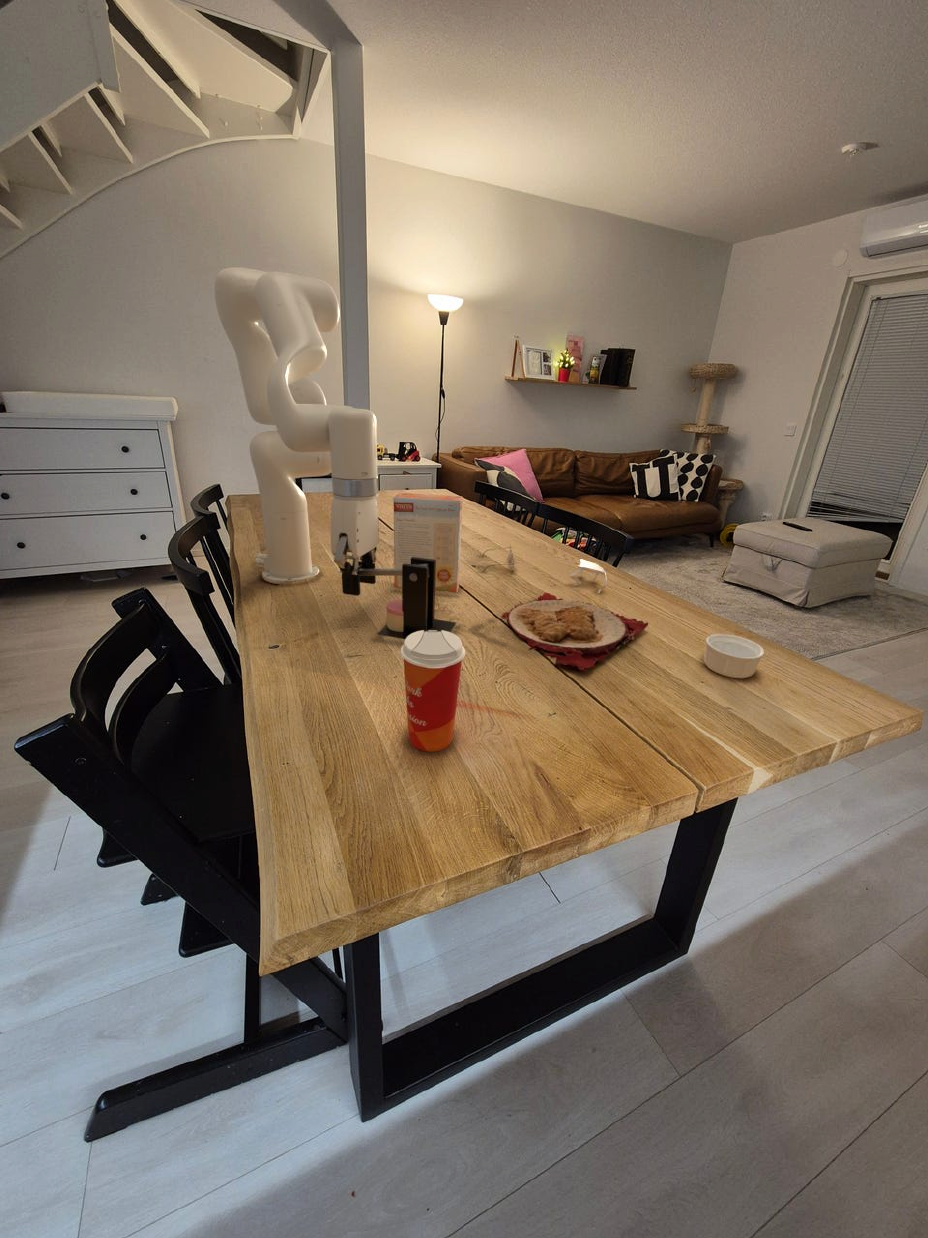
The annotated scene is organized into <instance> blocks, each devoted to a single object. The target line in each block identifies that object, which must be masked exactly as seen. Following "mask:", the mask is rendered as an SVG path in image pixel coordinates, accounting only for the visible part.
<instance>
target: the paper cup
mask: <svg viewBox="0 0 928 1238" xmlns="http://www.w3.org/2000/svg"><path fill="white" fill-rule="evenodd" d="M400 655H401V658H402V659H403V673H404V686H405V687H404V688H405V702H406V716H407V717H406V718H407V719H406V720H407V730H408V739H409V742H410V744H411V745H412V747H414V748H415V749H417V750H420V751H423V752H429V753H432V752H439V751H442V750H444V749H446V748H447V747H449V746H450V745H451V743H452V740H453V735H454V730H455V722H456V721H455V720H456V715H457V714H456V712H457V707H458V706H457V704H458V696H459V689H460V678H461V670H462V663H463V662H462V661H463V659H464V658H465V656H466V648H465V647H464V646H463V642H462V640H461V638H460V637H459V636H458V635H457V634H455V633H453V632H451V633H450V632H447V631H443V630H441V632H437V630H428V632H424V630H421V631H417V632H414V633H412V634H410V635H409V636H408V637H407V638H406V639H404V641H403V644H402V646H401V648H400Z"/></svg>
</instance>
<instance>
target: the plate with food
mask: <svg viewBox="0 0 928 1238" xmlns="http://www.w3.org/2000/svg"><path fill="white" fill-rule="evenodd" d="M562 597H563V596H562ZM562 597H561V598H557V596H556V595H553V594H551V593H549V592H544V593H543V594H542V595H539V596H538V597H537V599H536V600H531V601H529V603H527V602H526V603H521V604H518V605H517V604H515V605H514V607H513V608H511V609H510V611H506V612H504V613H502V614H501V618H506V617H507V618H506V621H507V623H508V624H509V626H510V628H511V629H512V631H513V633H515V634H516V635H517V636H518V637H519V638H520V639H521V640H522V641H525V642H526V645H528V646H529V647H530V648H528V649H531V650H536V649H537V647H538V648H540V649H541V651H542V652H544V650H546V651H545V652H544V655H546V656H550V659H555V662H556V663H558V664H562V665H564V666H571V667H577V669H578V670H579V671H584V670H588V669H589V668H594V666H595V663H596V662H597V661H598V662H600V663H602V662H603V661H604V660H605V659H606V657H607V656H609V655H611V654H612V653H613V652H614V651H615V650H619V649H620V647H624V646H625V647H626V644H627V643H628V642H630V641H634V640H635V636H636V635H637V634H640V633H642V631H644V630H645V629H647V627H648V625H649V624H650V623H649V622H648V621H646V622H644V621H643V620H637V619H636V618H628V617H625V616H624V615H620V614H619V613H615V612H613V611H611V610H608V609H605V608H603V607H602V608H601V607H598V606H596V605H593V604H592V603H591V602H584V601H578V600H565V599H564V598H562ZM548 612H554V614H553V615H555V617H554V616H553V615H550V614H549V613H548ZM492 628H493V629H494V628H495V627H494V626H492ZM620 641H621V643H622V644H621V645H619V646H616V645H617V644H618V643H619V642H620ZM556 653H563V654H560V655H559V654H556Z"/></svg>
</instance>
